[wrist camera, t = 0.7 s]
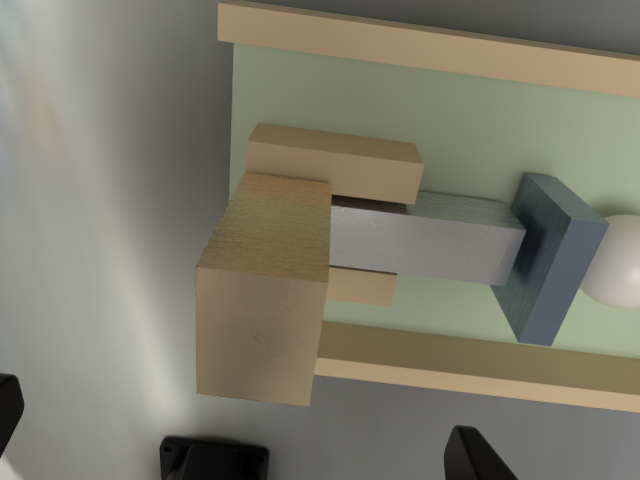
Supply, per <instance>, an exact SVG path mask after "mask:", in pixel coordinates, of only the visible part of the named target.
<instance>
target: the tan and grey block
mask: <svg viewBox="0 0 640 480" xmlns="http://www.w3.org/2000/svg"><path fill="white" fill-rule="evenodd" d="M608 226H609V223H608V222H607V221H606V220H605V219H604V218H602V217H601V216H600V215H599V214H598V213H597V212H596V211H594V210H593V209H592V208H591V207H590V206H589V205H588V204H586V203H585V202H584V201H583V200H582V199H581V198H580V197H578V196H577V195H576V194H575V193H574V192H573V191H572V190H570V189H569V188H568V187H567V186H566V185H565V184H564V183H563V182H561V181H560V180H559V179H558V178H557V177H552V176H544V175H537V174H529V173H526V174H525V176H524V179H523V182H522V185H521V188H520V190H519V193H518V196H517V199H516V202H515V204H514V207H513V210H512V211H511V210H510V209H509V207H508V206H507V205H506V203H505V202H497V201H489V200H482V199H474V198H466V197H458V196H451V195H443V194H435V193H427V192H420V191H418V193H417V198H416V202H415V205H413V204H405V203H397V202H389V201H381V200H373V199H366V198H358V197H350V196H342V195H334V194H332V184H329V183H321V182H313V181H305V180H298V179H290V178H282V177H274V176H267V175H259V174H251V173H243V175H242V177H241V179H240V181H239V183H238V185H237V187H236V189H235V191H234V193H233V195H232V197H231V199H230V201H229V203H228V205H227V207H226V208H225V210H224V212H223V214H222V216H221V218H220V220H219V222H218V224H217V226H216V228H215V230H214V232H213V234H212V236H211V238H210V240H209V242H208V244H207V246H206V248H205V250H204V251H203V253H202V255H201V257H200V259H199V261H198V263H197V265H196V378H197V394H203V395H212V396H220V397H229V398H238V399H246V400H255V401H264V402H272V403H281V404H290V405H298V406H307V407H309V403H310V397H311V390H312V384H313V378H314V371H315V365H316V359H317V352H318V346H319V340H320V334H321V327H322V321H323V315H324V308H325V302H326V296H327V289H328V283H329V265H336V266H344V267H352V268H360V269H368V270H376V271H384V272H393V273H401V274H409V275H417V276H425V277H433V278H441V279H449V280H457V281H465V282H473V283H481V284H489V285H490V287H491V289H492V291H493V293H494V295H495V297H496V299H497V301H498V303H499V305H500V307H501V309H502V311H503V313H504V315H505V317H506V319H507V321H508V323H509V325H510V327H511V329H512V331H513V333H514V335H515V337H516V339H517V341H518V343H526V344H534V345H542V346H552V344H553V341H554V339H555V337H556V335H557V333H558V331H559V329H560V327H561V325H562V323H563V320H564V318H565V316H566V314H567V312H568V310H569V308H570V306H571V304H572V302H573V300H574V297H575V295H576V293H577V291H578V289H579V287H580V285H581V283H582V281H583V279H584V276H585V274H586V272H587V270H588V268H589V266H590V264H591V262H592V260H593V258H594V255H595V253H596V251H597V249H598V247H599V245H600V243H601V241H602V239H603V237H604V235H605V232H606V230H607V228H608Z"/></svg>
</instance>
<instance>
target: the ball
mask: <svg viewBox="0 0 640 480" xmlns="http://www.w3.org/2000/svg"><path fill="white" fill-rule="evenodd" d="M604 219H605V220H606V221H607V222H608V223H609V226H608V228H607V230H606V232H605V235H604V237H603V239H602V241H601V243H600V245H599V247H598V249H597V251H596V253H595V255H594V258H593V260H592V262H591V264H590V266H589V268H588V270H587V272H586V274H585V276H584V279H583V281H582V283H581V285H580V287H579V288H580V289H581V290H582V291H583V292H584V293H585V294H586V295H587V296H588V297H590V298H591V299H593V300H594V301H596V302H598V303H601V304H603V305H606V306H609V307H613V308H619V309H635V308H640V217H639V216H634V215H614V216H609V217H605V218H604Z"/></svg>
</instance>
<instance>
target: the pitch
mask: <svg viewBox="0 0 640 480" xmlns="http://www.w3.org/2000/svg"><path fill="white" fill-rule="evenodd" d="M218 41H225V42H233V43H234V53H233V86H232V119H231V152H230V185H229V201H230V199H231V197H232V195H233V193H234V191H235V189H236V187H237V185H238V183H239V181H240V179H241V177H242V175H243V173H251V174H259V175H267V176H274V177H282V178H290V179H298V180H305V181H313V182H321V183H329V184H332V194H334V195H342V196H350V197H358V198H366V199H373V200H381V201H389V202H397V203H405V204H413V205H415V202H416V198H417V193H418V191H420V192H427V193H435V194H443V195H451V196H458V197H466V198H474V199H482V200H489V201H497V202H505V203H506V205H507V206H508V207H509V209H510V210H511V211H512V210H513V207H514V204H515V202H516V199H517V196H518V193H519V190H520V188H521V185H522V182H523V179H524V176H525V174H526V173H529V174H537V175H544V176H552V177H557V178H558V179H559V180H560V181H561V182H563V183H564V184H565V185H566V186H567V187H568V188H569V189H570V190H572V191H573V192H574V193H575V194H576V195H577V196H578V197H580V198H581V199H582V200H583V201H584V202H585V203H586V204H588V205H589V206H590V207H591V208H592V209H593V210H594V211H596V212H597V213H598V214H599V215H600V216H601V217H602V218H605V217H609V216H614V215H634V216H639V217H640V55H633V54H626V53H618V52H611V51H604V50H597V49H590V48H582V47H575V46H568V45H561V44H554V43H546V42H539V41H532V40H525V39H518V38H510V37H503V36H496V35H489V34H481V33H474V32H467V31H460V30H453V29H445V28H438V27H431V26H424V25H417V24H409V23H402V22H395V21H388V20H381V19H373V18H366V17H359V16H352V15H345V14H337V13H330V12H323V11H316V10H309V9H301V8H294V7H287V6H280V5H272V4H265V3H258V2H251V1H244V0H238V1H230V2H223V3H218ZM314 375H322V376H331V377H339V378H348V379H357V380H365V381H374V382H382V383H391V384H399V385H408V386H416V387H425V388H433V389H442V390H450V391H459V392H467V393H476V394H485V395H493V396H502V397H510V398H519V399H527V400H536V401H544V402H553V403H561V404H570V405H578V406H587V407H596V408H604V409H613V410H621V411H630V412H638V413H640V308H635V309H619V308H613V307H609V306H606V305H603V304H601V303H598V302H596V301H594V300H593V299H591V298H590V297H588V296H587V295H586V294H585V293H584V292H583V291H582V290H581V289H580V288H579V289H578V291H577V293H576V295H575V297H574V300H573V302H572V304H571V306H570V308H569V310H568V312H567V314H566V316H565V318H564V320H563V323H562V325H561V327H560V329H559V331H558V333H557V335H556V337H555V339H554V341H553V344H552V346H542V345H534V344H526V343H518V341H517V339H516V337H515V335H514V333H513V331H512V329H511V327H510V325H509V323H508V321H507V319H506V317H505V315H504V313H503V311H502V309H501V307H500V305H499V303H498V301H497V299H496V297H495V295H494V293H493V291H492V289H491V287H490V285H489V284H481V283H473V282H465V281H457V280H449V279H441V278H433V277H425V276H417V275H409V274H401V273H393V272H384V271H376V270H368V269H360V268H352V267H344V266H336V265H329V283H328V289H327V296H326V302H325V308H324V315H323V321H322V327H321V334H320V340H319V346H318V352H317V359H316V365H315V371H314Z"/></svg>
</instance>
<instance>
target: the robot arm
mask: <svg viewBox="0 0 640 480" xmlns="http://www.w3.org/2000/svg"><path fill="white" fill-rule="evenodd" d="M23 411H24V399H23V395H22V391H21V387H20V384H19V380H18V378H17V377H16V376H15V375H13V374H4V373H0V458H1V456H2V454H3V452H4V450H5V448H6V446H7V444H8V442H9V440H10V438H11V436H12V434H13V432H14V430H15V428H16V426H17V424H18V422H19V420H20V418H21V416H22V414H23ZM160 463H161V477H162V480H267V473H268V464H269V452H268V451H267V450H265V449H262V448H253V447H244V446H235V445H226V444H217V443H208V442H199V441H191V440H182V439H173V438H166V439H164V440H163V441H162V443H161V445H160ZM444 468H445V478H446V480H518V478H517V477H516V476H515V475H514V474H513V472H512V471H511V470H510V469H509V467H508V466H507V465H506V464H505V463H504V461H503V460H502V459H501V458H500V456H499V455H498V454H497V453H496V452H495V450H494V449H493V448H492V447H491V446H490V444H489V443H488V442H487V441H486V439H485V438H484V437H483V436H482V435H481V433H480V432H479V431H478V430H477V429H476V428H475V427H472V426H464V425H456V426H455V427H454V428H453V430H452V432H451V435H450V438H449V440H448V443H447V445H446V448H445V452H444Z"/></svg>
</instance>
